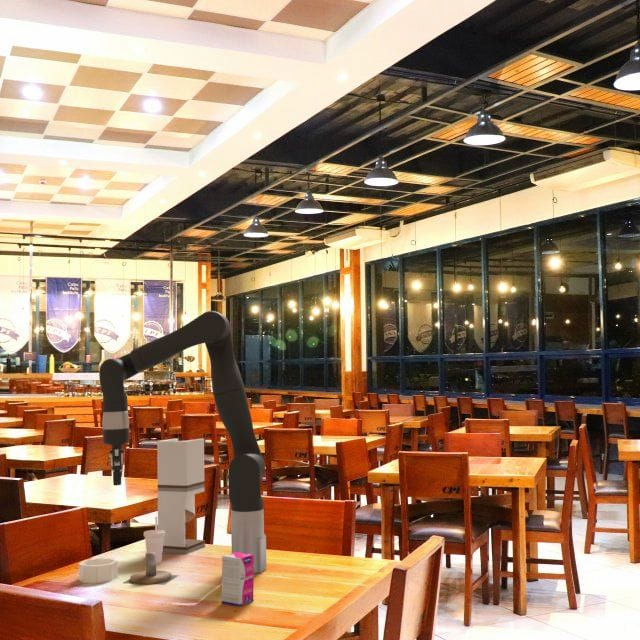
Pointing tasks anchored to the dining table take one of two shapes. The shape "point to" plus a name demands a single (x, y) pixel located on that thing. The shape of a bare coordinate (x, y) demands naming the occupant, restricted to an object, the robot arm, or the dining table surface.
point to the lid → (150, 572)
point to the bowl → (98, 570)
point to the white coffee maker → (179, 491)
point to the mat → (156, 583)
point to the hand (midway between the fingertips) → (117, 483)
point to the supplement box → (237, 578)
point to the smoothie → (155, 542)
